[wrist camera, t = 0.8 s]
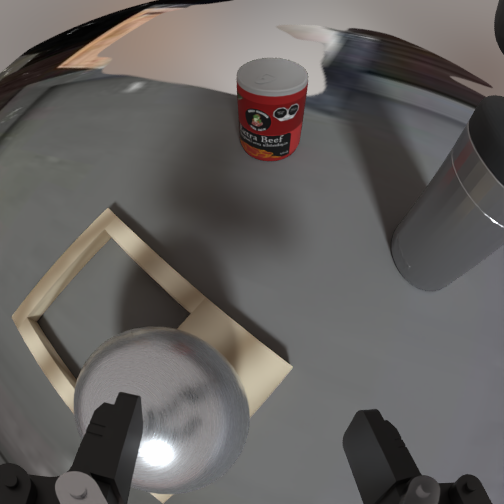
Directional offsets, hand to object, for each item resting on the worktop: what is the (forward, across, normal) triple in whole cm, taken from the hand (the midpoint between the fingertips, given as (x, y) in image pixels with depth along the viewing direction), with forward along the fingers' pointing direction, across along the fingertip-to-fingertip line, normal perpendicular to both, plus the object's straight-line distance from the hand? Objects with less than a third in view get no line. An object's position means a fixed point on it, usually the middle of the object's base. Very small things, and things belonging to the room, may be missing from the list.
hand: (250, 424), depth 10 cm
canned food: (+33, -3, -12) cm, 36 cm away
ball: (+7, +4, +8) cm, 11 cm away
